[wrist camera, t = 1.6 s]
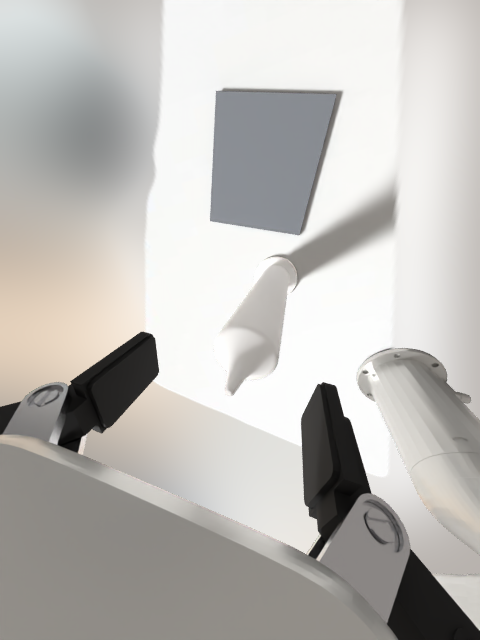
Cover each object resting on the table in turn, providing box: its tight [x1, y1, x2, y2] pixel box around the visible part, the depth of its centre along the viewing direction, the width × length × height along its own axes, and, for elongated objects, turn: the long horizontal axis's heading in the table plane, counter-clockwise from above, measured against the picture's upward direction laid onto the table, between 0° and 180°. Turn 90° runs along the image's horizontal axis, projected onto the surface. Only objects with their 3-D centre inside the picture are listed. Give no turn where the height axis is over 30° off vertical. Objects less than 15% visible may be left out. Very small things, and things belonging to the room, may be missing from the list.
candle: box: [214, 256, 297, 396], centre depth 20 cm, size 7×7×25 cm
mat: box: [210, 91, 337, 235], centre depth 25 cm, size 14×14×1 cm
